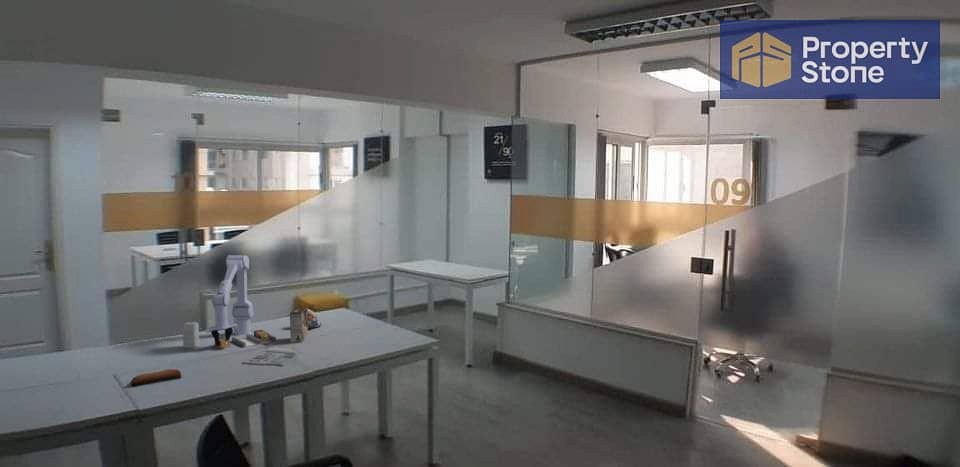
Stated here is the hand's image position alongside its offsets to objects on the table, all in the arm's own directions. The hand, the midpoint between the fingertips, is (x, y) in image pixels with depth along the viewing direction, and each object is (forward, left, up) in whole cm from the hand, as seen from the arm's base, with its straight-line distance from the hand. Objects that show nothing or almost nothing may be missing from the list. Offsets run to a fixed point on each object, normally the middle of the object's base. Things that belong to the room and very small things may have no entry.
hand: (222, 344), depth 281 cm
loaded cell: (+2, +19, -1) cm, 19 cm away
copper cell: (0, 0, -1) cm, 1 cm away
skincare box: (-11, -11, -2) cm, 16 cm away
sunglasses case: (+29, -38, -2) cm, 47 cm away
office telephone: (+34, +12, -2) cm, 36 cm away
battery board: (+2, +15, -1) cm, 15 cm away
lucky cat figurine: (-6, +50, -2) cm, 50 cm away
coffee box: (+16, +33, -2) cm, 37 cm away
